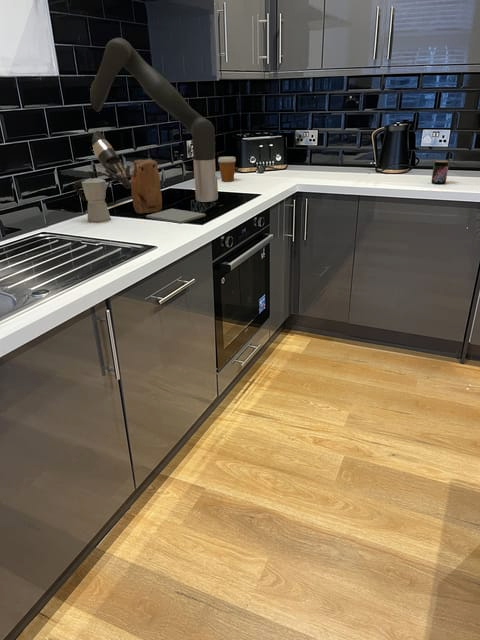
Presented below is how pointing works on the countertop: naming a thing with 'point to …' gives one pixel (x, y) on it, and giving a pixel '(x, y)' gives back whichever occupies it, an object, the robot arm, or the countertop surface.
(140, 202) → the block
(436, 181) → the supplement container
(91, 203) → the coffee maker
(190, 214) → the mat
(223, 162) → the disposable coffee cup
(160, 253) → the countertop surface
